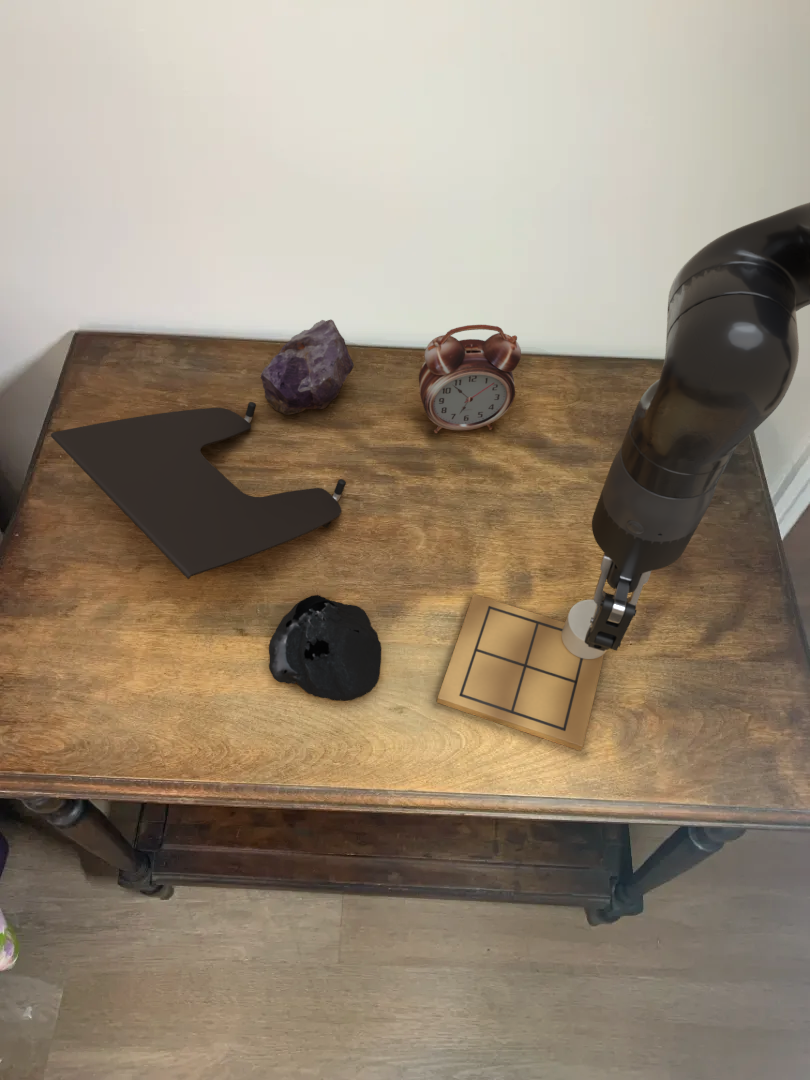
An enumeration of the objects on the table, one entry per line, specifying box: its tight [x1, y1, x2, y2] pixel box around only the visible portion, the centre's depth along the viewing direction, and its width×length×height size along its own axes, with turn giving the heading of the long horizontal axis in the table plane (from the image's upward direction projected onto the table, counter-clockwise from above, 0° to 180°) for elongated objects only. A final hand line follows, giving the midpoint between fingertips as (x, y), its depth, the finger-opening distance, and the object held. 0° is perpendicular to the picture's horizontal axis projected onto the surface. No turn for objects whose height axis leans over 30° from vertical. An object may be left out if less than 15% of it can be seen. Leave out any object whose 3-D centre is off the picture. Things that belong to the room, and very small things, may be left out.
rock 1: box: [260, 319, 355, 416], centre depth 95 cm, size 12×9×10 cm
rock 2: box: [268, 594, 382, 702], centre depth 78 cm, size 9×10×10 cm
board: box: [436, 593, 605, 751], centre depth 79 cm, size 14×12×1 cm
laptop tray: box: [50, 401, 347, 580], centre depth 86 cm, size 23×23×9 cm
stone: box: [562, 599, 608, 659], centre depth 79 cm, size 5×5×3 cm
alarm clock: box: [418, 324, 522, 434], centre depth 91 cm, size 11×5×15 cm, turn 97°
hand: (605, 604), depth 74 cm, fingers open, 8 cm apart
